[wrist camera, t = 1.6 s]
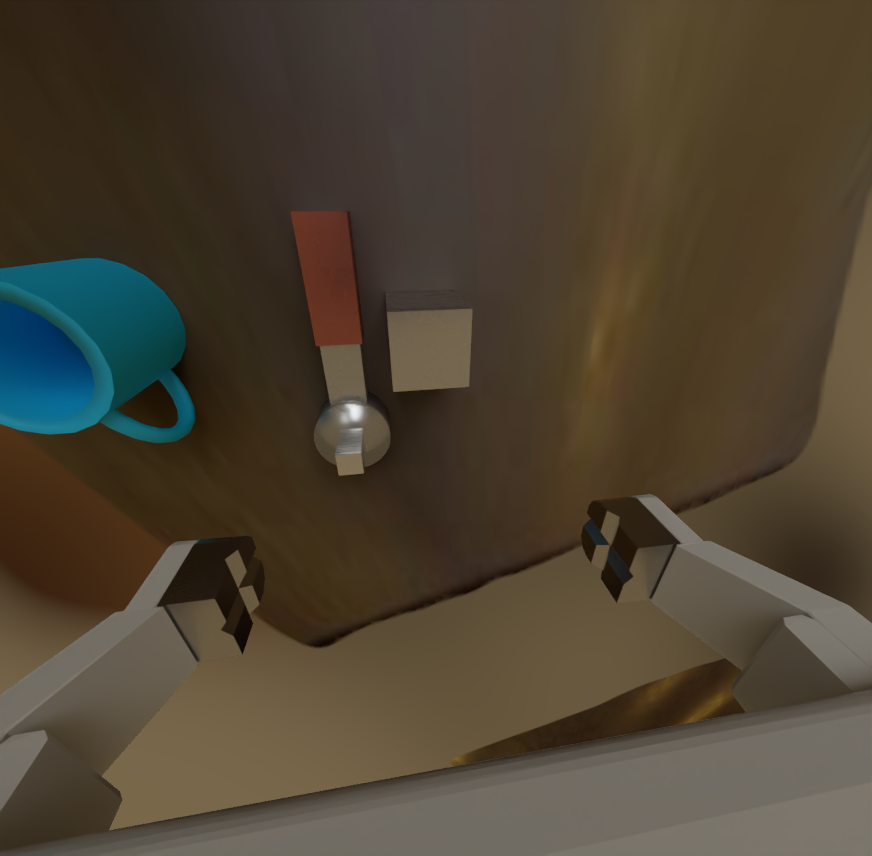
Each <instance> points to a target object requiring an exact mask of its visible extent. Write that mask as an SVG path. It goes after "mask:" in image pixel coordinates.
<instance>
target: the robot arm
mask: <svg viewBox="0 0 872 856" xmlns="http://www.w3.org/2000/svg"><path fill="white" fill-rule="evenodd" d="M587 514H588V515H589V517H590V518H591V519H590V520H589V521H588V522H587V523H586V524H585V525H584V526H583V530H582V534H581V538H582V546H583V549H584V551H585V554H586V556H587V558H588V559H589V561H590V562H591V564H593V565H595V566H596V567H598V568H599V569H601V570H602V573H601V580H602V581H603V583H604V584H605V586H606V587H607V589H608V590H609V592H610V594H611V595H612V597H613V598H614V600H615V601H616V603H624V602H633V601H642V600H651V602H652V603H653V604H655V605H656V606H657V607H659V608H660V609H661V610H663V611H664V612H665V613H667V614H668V615H669V616H671V617H672V618H673V619H674V620H676V621H677V622H678V623H680V624H681V625H682V626H684V627H685V628H686V629H688V630H689V631H690V632H692V633H693V634H694V635H696V636H697V637H698V638H700V639H701V640H702V641H704V642H705V643H706V644H708V645H709V646H710V647H711V648H713V649H714V650H715V651H717V652H718V653H720V654H721V655H722V656H723V657H725V658H726V659H727V660H729V661H730V662H731V663H733V664H734V665H735V666H737V667H738V668H739V669H741V670H742V672H741V673H740V674H739V675H738V677H737V678H736V679H735V681H734V682H733V683H732V685H731V693H732V694H733V696H734V697H735V698H736V700H737V701H738V702H739V704H740V705H741V706H742V708H743V709H744V710H745V712H746V713H741V714H735V715H730V716H724V717H719V718H714V719H708V720H703V721H697V722H692V723H687V724H681V725H676V726H670V727H665V728H660V729H654V730H649V731H643V732H638V733H632V734H627V735H622V736H616V737H611V738H605V739H600V740H595V741H589V742H584V743H578V744H573V745H568V746H562V747H557V748H551V749H546V750H541V751H535V752H530V753H524V754H519V755H514V756H508V757H503V758H497V759H492V760H486V761H481V762H476V763H470V764H465V765H459V766H454V767H449V768H443V769H438V770H432V771H427V772H422V773H417V774H411V775H405V776H400V777H395V778H390V779H384V780H378V781H373V782H368V783H362V784H357V785H351V786H346V787H341V788H335V789H330V790H325V791H319V792H314V793H308V794H303V795H298V796H292V797H287V798H281V799H276V800H271V801H265V802H260V803H254V804H249V805H243V806H238V807H233V808H227V809H222V810H217V811H211V812H206V813H201V814H195V815H189V816H184V817H179V818H173V819H168V820H163V821H157V822H152V823H146V824H141V825H135V826H130V827H125V828H119V829H114V830H109V829H110V826H111V824H112V822H113V820H114V818H115V815H116V813H117V811H118V809H119V806H120V804H121V802H122V797H121V794H120V791H119V790H118V789H116V788H115V787H114V786H113V785H111V784H110V783H109V782H108V781H107V780H105V779H104V778H103V777H102V775H103V774H104V772H105V771H106V770H107V769H108V768H109V767H110V766H111V764H112V763H113V762H114V761H115V760H116V759H117V758H118V757H119V755H120V754H121V753H122V752H123V751H124V750H125V748H126V747H127V746H128V745H129V744H130V743H131V742H132V741H133V739H134V738H135V737H136V736H137V735H138V734H139V733H140V731H141V730H142V729H143V728H144V727H145V726H146V724H147V723H148V722H149V721H150V720H151V719H152V717H153V716H154V715H155V714H156V713H157V712H158V711H159V710H160V708H161V707H162V706H163V705H164V704H165V703H166V701H167V700H168V699H169V698H170V697H171V696H172V695H173V694H174V692H175V691H176V690H177V689H178V688H179V687H180V685H181V684H182V683H183V682H184V681H185V680H186V679H187V678H188V676H189V675H190V674H191V673H192V672H193V671H194V670H195V668H196V667H197V666H198V662H203V661H208V660H214V659H221V658H227V657H233V656H239V655H243V652H244V649H245V646H246V643H247V640H248V637H249V634H250V631H251V628H252V625H253V622H252V620H251V617H250V615H249V614H250V613H251V612H252V611H253V610H254V609H255V608H256V607H257V606H258V605H259V604H260V601H261V598H262V595H263V591H264V581H265V576H264V568H263V565H262V563H261V561H260V560H258V559H257V558H255V557H254V556H253V554H254V551H255V549H256V546H255V544H254V541H253V539H252V537H249V536H238V537H225V538H212V539H200V540H193V541H179V542H175V543H173V544H172V545H170V546H169V547H168V548H167V550H166V551H165V553H164V554H163V555H162V557H161V558H160V560H159V561H158V563H157V564H156V566H155V567H154V569H153V570H152V571H151V573H150V574H149V576H148V577H147V579H146V580H145V582H144V583H143V584H142V586H141V587H140V589H139V590H138V592H137V593H136V595H135V596H134V597H133V599H132V600H131V602H130V603H129V605H128V606H127V607H126V609H125V610H124V611H122V612H116V613H114V614H112V615H111V616H110V617H108V618H107V619H105V620H104V621H103V622H101V623H100V624H98V625H97V626H96V627H94V628H93V629H92V630H90V631H89V632H87V633H86V634H84V635H83V636H82V637H80V638H79V639H78V640H76V641H75V642H73V643H72V644H71V645H69V646H68V647H66V648H65V649H64V650H62V651H61V652H59V653H58V654H57V655H56V656H54V657H52V658H51V659H50V660H48V661H47V662H46V663H44V664H43V665H41V666H40V667H38V668H37V669H36V670H34V671H33V672H32V673H30V674H29V675H27V676H26V677H25V678H23V679H22V680H20V681H19V682H18V683H16V684H15V685H13V686H12V687H11V688H9V689H8V690H6V691H5V692H4V693H3V694H1V695H0V856H872V624H871V623H870V622H869V621H868V620H866V619H865V618H864V617H863V616H861V615H860V614H859V613H858V612H856V611H855V610H854V609H853V608H851V607H850V606H848V605H846V604H844V603H842V602H839V601H838V600H835V599H833V598H831V597H829V596H827V595H824V594H823V593H820V592H818V591H816V590H814V589H812V588H809V587H808V586H805V585H803V584H801V583H799V582H797V581H795V580H792V579H790V578H788V577H786V576H784V575H782V574H779V573H777V572H775V571H773V570H771V569H769V568H767V567H765V566H762V565H760V564H758V563H756V562H754V561H752V560H750V559H747V558H745V557H743V556H741V555H739V554H737V553H735V552H732V551H730V550H728V549H726V548H724V547H722V546H719V545H717V544H715V543H713V542H711V541H705V542H704V541H703V540H701V538H699V537H698V536H697V535H696V534H695V533H694V532H693V531H692V530H691V529H690V528H689V527H688V526H687V525H686V524H684V522H683V521H681V520H680V519H679V518H678V517H677V516H676V515H675V514H674V513H673V512H672V511H671V510H670V509H669V508H668V507H667V506H666V505H665V504H663V503H662V502H661V501H660V500H659V499H658V498H657V497H655V496H653V495H651V494H647V495H638V496H631V497H621V498H612V499H603V500H594V501H592V502H591V503H590V505H589V507H588V511H587Z"/></svg>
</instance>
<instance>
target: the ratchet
mask: <svg viewBox="0 0 872 856" xmlns="http://www.w3.org/2000/svg"><path fill="white" fill-rule="evenodd" d="M290 212H291V217H292V222H293V228H294V233H295V238H296V243H297V249H298V254H299V259H300V265H301V270H302V275H303V280H304V286H305V291H306V296H307V302H308V307H309V312H310V317H311V323H312V328H313V333H314V339H315V344H316V346H320V350H321V356H322V361H323V367H324V372H325V378H326V383H327V388H328V394H329V398H328V399H327V400H326V401H325V402H324V404H323V405H322V407H321V410H320V413H319V416H318V419H317V423H316V426H315V429H314V442H315V446H316V448H317V450H318V451H319V453H320V454H321V455H322V456H323V457H324V458H325V459H326V460H327V461H329V462H330V463H332V464H334V465H337V468H338V474H339V476H341V475H352V474H362V473H364V467H367V466H370V465H372V464H374V463H376V462H377V461H379V460H380V459H381V458H382V457H383V456H384V455H385V453H386V452H387V450H388V448H389V445H390V419H389V413H388V410H387V408H386V406H385V405H384V403H383V402H382V401H381V400H380V399H379V398H378V397H376V396H375V395H373V394H371V393H369V392H368V389H367V381H366V372H365V364H364V355H363V347H362V343H363V335H364V333H363V324H362V316H361V307H360V298H359V290H358V281H357V272H356V264H355V255H354V246H353V238H352V229H351V220H350V212H348V211H290Z"/></svg>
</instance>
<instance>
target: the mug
mask: <svg viewBox="0 0 872 856" xmlns="http://www.w3.org/2000/svg"><path fill="white" fill-rule="evenodd" d="M185 347H186V333H185V327H184V324H183V322H182V319H181V317H180V314H179V311H178V309H177V308H176V307H175V305H174V304H173V303H172V301H171V300H170V299H169V297H168V296H167V295H166V293H165V292H164V291H163V290H162V289H160V288H159V287H158V286H157V285H156V284H154V283H153V282H152V281H151V280H150V279H149V278H147V277H146V276H145V275H143V274H141V273H139V272H137V271H135V270H133V269H131V268H129V267H128V266H126V265H124V264H121V263H117V262H113V261H109V260H105V259H101V258H88V259H72V260H64V261H57V262H49V263H41V264H33V265H25V266H18V267H10V268H2V269H0V424H3V425H6V426H9V427H12V428H15V429H18V430H21V431H28V432H35V433H42V434H62V433H73V432H77V431H80V430H82V429H85V428H87V427H90V426H92V425H95V424H96V423H98V422H101V423H102V424H104V425H105V426H107V427H109V428H110V429H113V430H115V431H117V432H120V433H122V434H124V435H127V436H129V437H131V438H134V439H138V440H143V441H148V442H153V443H165V442H175V441H178V440H179V439H181V438H183V437H184V436H186V435H188V434H189V433H190V432H191V430H192V428H193V425H194V423H195V420H196V419H195V407H194V405H193V402H192V400H191V398H190V395H189V393H188V391H187V390H186V388H185V387H184V385H183V384H182V382H181V381H180V379H179V378H178V377H177V375H176V374H175V373H174V372H173V371H172V370H171V369H172V368H173V367H174V366H175V365H176V364H177V363H178V362H179V361H180V360H181V358H182V355H183V353H184V350H185ZM156 380H159V381H160V382H161V383H162V384H163V385H164V387H165V388H166V390H167V391H168V393H169V394H170V395H171V397H172V398H173V401H174V403H175V406H176V408H177V411H178V421H177V423H176V425H175V426H174V427H172V428H157V427H153V426H149V425H145V424H143V423H141V422H139V421H136V420H134V419H132V418H130V417H128V416H126V415H124V414H122V413H121V412H119V411H118V410H116V409H117V408H119V407H120V406H121V405H123V404H124V403H126V402H127V401H128V400H130V399H131V398H133V397H134V396H135V395H137V394H138V393H140V392H141V391H142V390H144V389H145V388H146V387H148V386H149V385H151V384H152V383H153V382H155V381H156Z"/></svg>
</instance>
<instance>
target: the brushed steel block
mask: <svg viewBox="0 0 872 856" xmlns="http://www.w3.org/2000/svg"><path fill="white" fill-rule="evenodd" d="M385 295H386V308H387V321H388V334H389V346H390V359H391V371H392V384H393V392H399V391H414V390H429V389H444V388H459V387H469V376H470V353H471V330H472V308H471V307H470V306H469V305H468V304H467V303H466V302H465V301H464V300H463V299H462V298H461V297H459V296H458V295H457V294H456V293H455V292H454V291H453V290H438V291H408V292H385Z"/></svg>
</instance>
